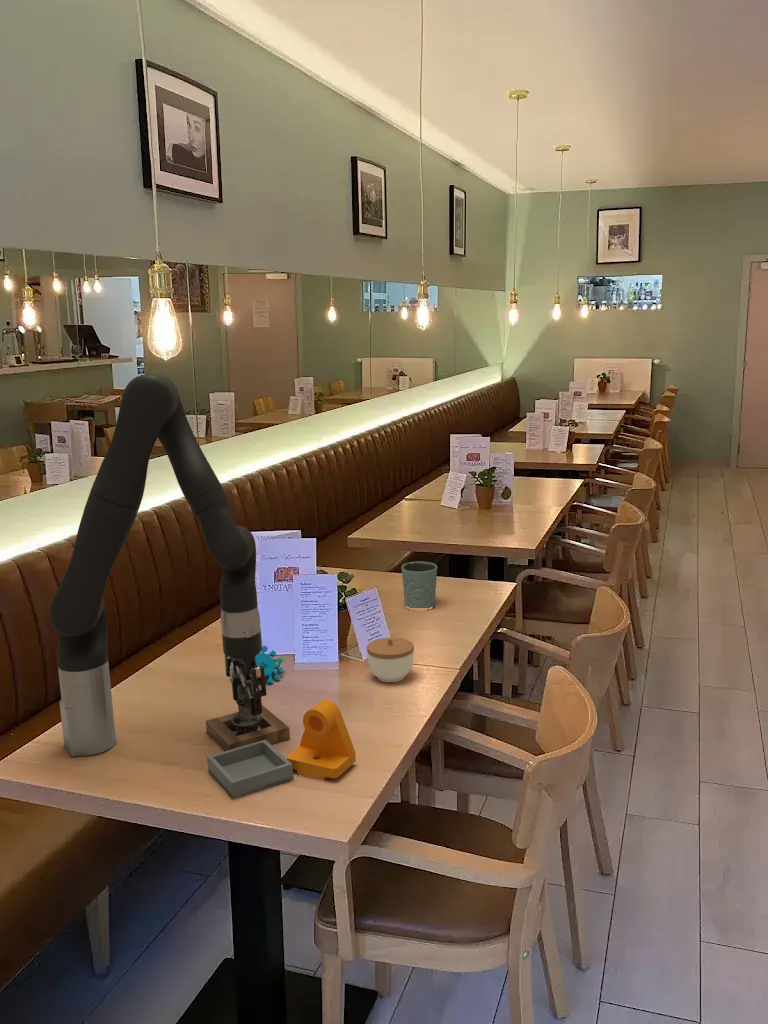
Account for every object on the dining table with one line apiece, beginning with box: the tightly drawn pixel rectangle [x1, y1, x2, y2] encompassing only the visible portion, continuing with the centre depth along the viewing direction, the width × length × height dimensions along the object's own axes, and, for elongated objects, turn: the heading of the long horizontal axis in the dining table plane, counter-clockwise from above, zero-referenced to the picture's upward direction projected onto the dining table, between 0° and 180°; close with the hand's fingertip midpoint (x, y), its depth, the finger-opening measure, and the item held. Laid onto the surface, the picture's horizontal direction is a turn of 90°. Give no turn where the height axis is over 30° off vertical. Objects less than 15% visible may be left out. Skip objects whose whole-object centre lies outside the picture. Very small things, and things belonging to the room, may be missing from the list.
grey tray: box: [206, 740, 294, 800], centre depth 161 cm, size 12×12×3 cm
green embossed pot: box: [401, 561, 438, 608], centre depth 252 cm, size 10×10×12 cm
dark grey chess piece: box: [232, 684, 261, 736], centre depth 176 cm, size 6×6×12 cm
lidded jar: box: [366, 637, 415, 684], centre depth 203 cm, size 11×11×9 cm
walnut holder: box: [205, 704, 291, 752], centre depth 177 cm, size 12×12×2 cm
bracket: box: [286, 699, 357, 781], centre depth 162 cm, size 11×7×12 cm, turn 63°
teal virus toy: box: [255, 644, 286, 685], centre depth 205 cm, size 11×6×10 cm
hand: (247, 706), depth 176 cm, fingers open, 8 cm apart
